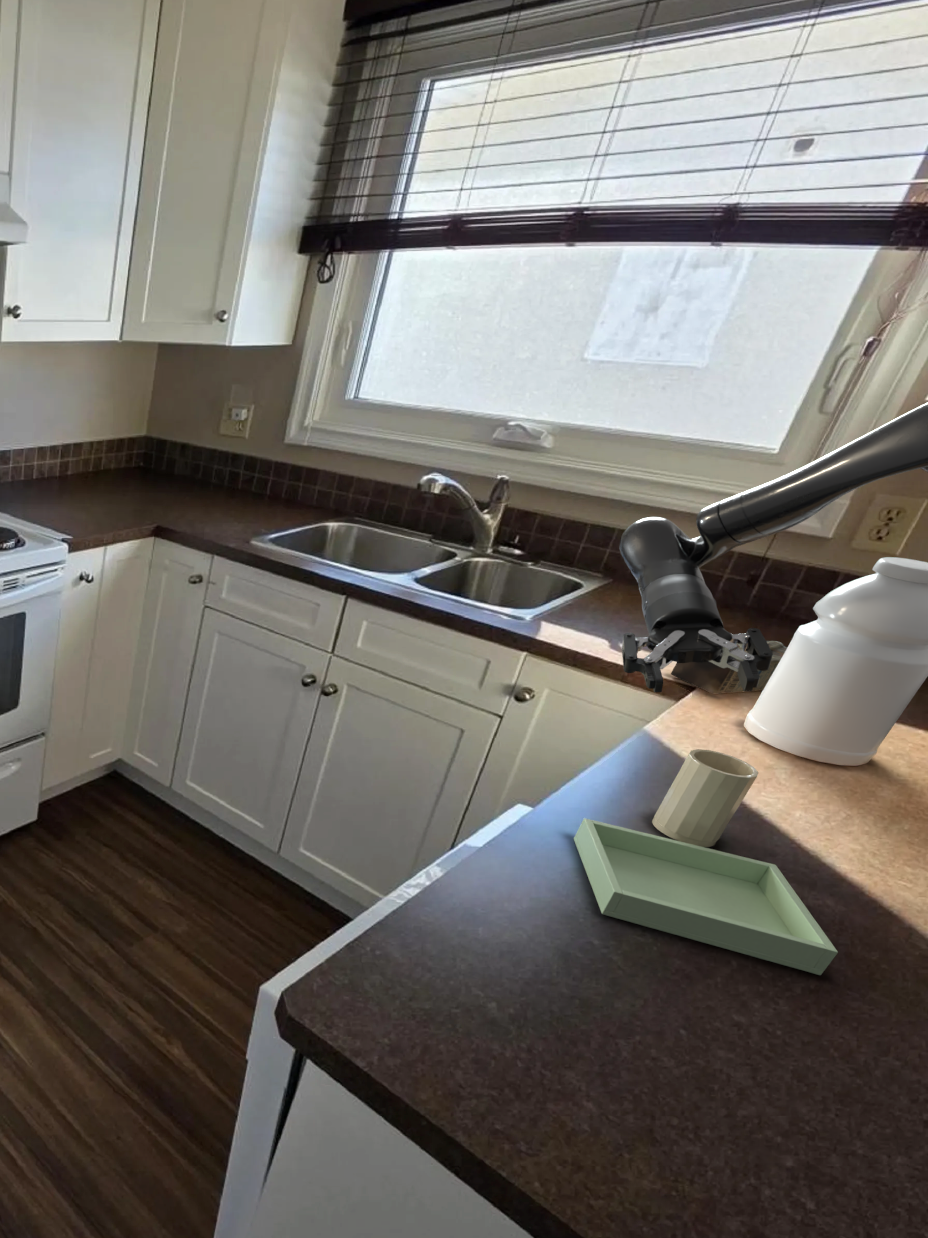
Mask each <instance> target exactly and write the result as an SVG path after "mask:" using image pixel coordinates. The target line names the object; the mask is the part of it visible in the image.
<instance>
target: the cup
mask: <svg viewBox="0 0 928 1238" xmlns="http://www.w3.org/2000/svg"><path fill="white" fill-rule="evenodd" d="M758 775H759V771H758V770H757V769H756V768H755V766H752V765H751V764H750V763H748V762H746V761H744V760H742V759H740V758H738V757H735V756H733V755H730V754H726V753H724V752H720V751H715V750H710V749H703V748H702V749H700V748H698V749H697V748H696V749H692V750H690V751H689V753H688V754H687V756H686V758H685V760H684V762H683V763H682V765H681V767H680V769H679V770H678V773H677V775H676V776H675V778H674V779H673V782H672V783H671V785H670V787H669V789H668V790H667V792H666V794H665V796H664V797H663V799H662V801H661V803H660V805H659V807H658V808H657V810H656V812H655V814H654V816H653V817H652V820H651V824H652V825H653V827H655V829H656V830H657V831H659V832H660V833H662V834H663V835H665V836H667V837H669V838H670V839H672V840H676V841H680V842H684V843H688V844H693V845H697V846H701V847H705V848H710V847H715V845H716V844H717V842H718V841H719V840H720V838H721V837H722V835H723V833H724V831H725V829H726V828H727V827H728V825H729V823H730V822H731V820H732V819H733V817H734V815H735V814H736V812H737V810H738V809H739V807H740V805H741V804H742V802H743V800H744V799H745V797H746V795H747V794H748V792H749V791H750V789H751V787H752V786H753V784H754V783H755V781H756V780H757V778H758Z"/></svg>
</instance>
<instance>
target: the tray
mask: <svg viewBox="0 0 928 1238" xmlns="http://www.w3.org/2000/svg"><path fill="white" fill-rule="evenodd" d="M573 842H574V843H575V846H576V849H577V851H578V854H579V857H580V859H581V863H582V865H583V868H584V870H585V873H586V876H587V877H588V881H589V883H590V886H591V888H592V892H593V894H594V896H595V900H596V902H597V904H598V907H599V911H600V913H601V915H604V916H606V917H611V918H614V919H618V920H622V921H625V922H628V923H632V924H636V925H639V926H642V927H647V928H650V929H654V930H658V931H659V932H660V931H661V932H663V933H668V934H671V935H675V936H678V937H682V938H686V939H689V940H693V941H696V942H699V943H703V944H708V945H710V946H714V947H718V948H722V949H725V950H729V951H732V952H735V953H739V954H742V955H747V956H749V957H753V958H757V959H760V960H764V961H768V962H772V963H775V964H778V965H782V966H786V967H789V968H793V969H796V970H800V971H802V972H803V971H804V972H808V973H811V974H814V975H817V976H822V974H823V973H824V971H826V970H827V968H828V967H829V965H830V964H831V963H832V962H833V960H834V959H835V957H836V956H837V955H838V954H839V951H838V950H837V949H836V947H835V946H834V944H833V943H832V941H831V940H830V938H829V937H828V936H827V934H826V933H825V932H824V930H823V929H822V928H821V926H820V924H819V923H818V922H817V921H816V919H815V918H814V917H813V915H812V914H811V912H810V911H809V909H808V907H807V906H806V905H805V904H804V903H803V901H802V900H801V898H800V897H799V895H798V894H797V893H796V891H795V890H794V888H793V887H792V886H791V884H790V883H789V881H788V880H787V879H786V877H785V876H784V875H783V873H782V872H781V870H780V869H779V868H778V865H777V864H774V863H770V862H766V861H761V860H757V859H753V858H749V857H744V856H742V855H741V856H740V855H738V854H733V853H729V852H725V851H721V850H717V849H713V848H710V847H701V846H697V845H693V844H688V843H684V842H680V841H677V840H675V839H673V838H668V837H663V836H660V835H656V834H651V833H647V832H643V831H640V830H634V829H630V828H627V827H623V826H619V825H615V824H612V823H611V824H610V823H606V822H602V821H598V820H594V819H589V818H586V817H584V818H583V819H582V822H580V825H579V827H578V829H577V830H576V833H575V835H574V837H573Z"/></svg>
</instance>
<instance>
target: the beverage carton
mask: <svg viewBox="0 0 928 1238" xmlns="http://www.w3.org/2000/svg"><path fill="white" fill-rule="evenodd" d="M766 642H767V644H768V645H769V647H770V649H771V651H772V653H773V656H772V659H771V663H770V667H769V669H768V670H766V671H760V670H758V669H757V670H758V673H759V675H760V679H759V683H758V686H757V688H753V690H752V692H757V691H763V689H764V688H765V686H766V684H767V682H768V681H769V679H770V677H771V676H772V674H773V672H774V670H775V669H776V667H777V665H778V664H779V662H780V660H781V658H782V657H783V655H784V653H785V651H786V649H787V648H788V646H785V645H784V643H782V642H780V641H777V640H766ZM737 646H738V648H739V649H740V650H742V648H741V647H740V646H739V645H737ZM744 652H747V651H744ZM747 653H748V652H747ZM722 654H723V653H721V654H720V655H719V656H721V657H722ZM736 660H737V661H738V662H740V660H738V659H736ZM737 674H738V672H736V671H734V670H732V669H730V668H728V667H726V668H721V667H719V666H717V665H715V664H713V663H711V662H709V661H708V663H698V662H689V663H677V662H676V664H675V666H674V667H673V669H672V670H671V672H670V675H671V676H673V677H675V678H677V679H679V680H682V681H684V682H686V683H688V684H690V685H692V686H694V687H696V688H698V689H701V690H703V691H706V692H708V693H710V694H711V695H717V694H718V695H719V694H728V693H729V694H730V693H742V692H744V691H743V689H742V686H741V683H740V680H739V678H738V675H737Z"/></svg>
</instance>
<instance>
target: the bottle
mask: <svg viewBox="0 0 928 1238" xmlns="http://www.w3.org/2000/svg"><path fill="white" fill-rule="evenodd" d="M871 570H872V571H873V572H874V573H872V574H869V575H865V576H862V577H859V578H856V579H853V580H851V581H848V582H846V583H844V584H842V585H840V586H838V587H836V588H835V589H833V590H831V591H830V592H828V593H827V594H825V596H823V597H822V598H821V599H820V600H818V601H817V602H815V604H814V606H813V607H812V610H813V612H814V613H815V615H816V616H817V619H816V620H813V621H810V622H808V623H805V624H801V625H799V626H798V628H797V629H796V630H795V632H794V634H793V636H792V638H791V640H790V642H789V644H788V646H787V649H786V651H785V653H784V655H783V657H782V658H781V660H780V662H779V664H778V665H777V667H776V669H775V670H774V672H773V674H772V676H771V677H770V679H769V681H768V682H767V684H766V686H765V688H764V689H763V690H761V693H760V694H759V697H758V699H757V700H756V702H755V704H754V705H753V707H752V709H750V710H749V711H748V713H747V715H746V717H745V720H744V723H743V727H744V728H745V729H746V732H748V733H749V734H750V735H752V736H753V737H755V738H756V739H758V740H759V741H761V742H763V743H765V744H767V745H769V746H771V747H773V748H776V749H777V750H778V749H779V750H781V751H783V752H786V753H789V754H792V755H795V756H797V757H800V758H801V757H802V758H803V759H804V758H805V759H807V760H812V761H816V762H819V763H824V764H825V763H826V764H831V765H837V766H851V767H852V766H854V767H857V766H861V765H865V764H867V763H869V762H870V761H871V759H873V758H874V757H875V756H876V755H877V752H878V749H879V747H880V746H881V744H882V743H883V741H884V740H885V739H886V737H887V736H888V735H889V733H890V731H891V730H892V729H893V728H894V726H895V724H896V723H897V722H898V720H899V718H900V717H901V716H902V714H903V713H904V711H905V710H906V708H907V707H908V705H909V704H910V702H911V701H912V699H913V698H914V697H915V695H916V694H917V692H918V690H919V689H920V688H921V686H922V685H923V683H924V682H925V681H926V679H927V678H928V562H927V561H922V560H918V559H917V560H916V559H911V558H905V557H895V556H894V557H892V556H886V557H885V556H884V557H881V558H879V559H878V560H877V561H876V563H875V564H874V565H873V567H872V569H871Z"/></svg>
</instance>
